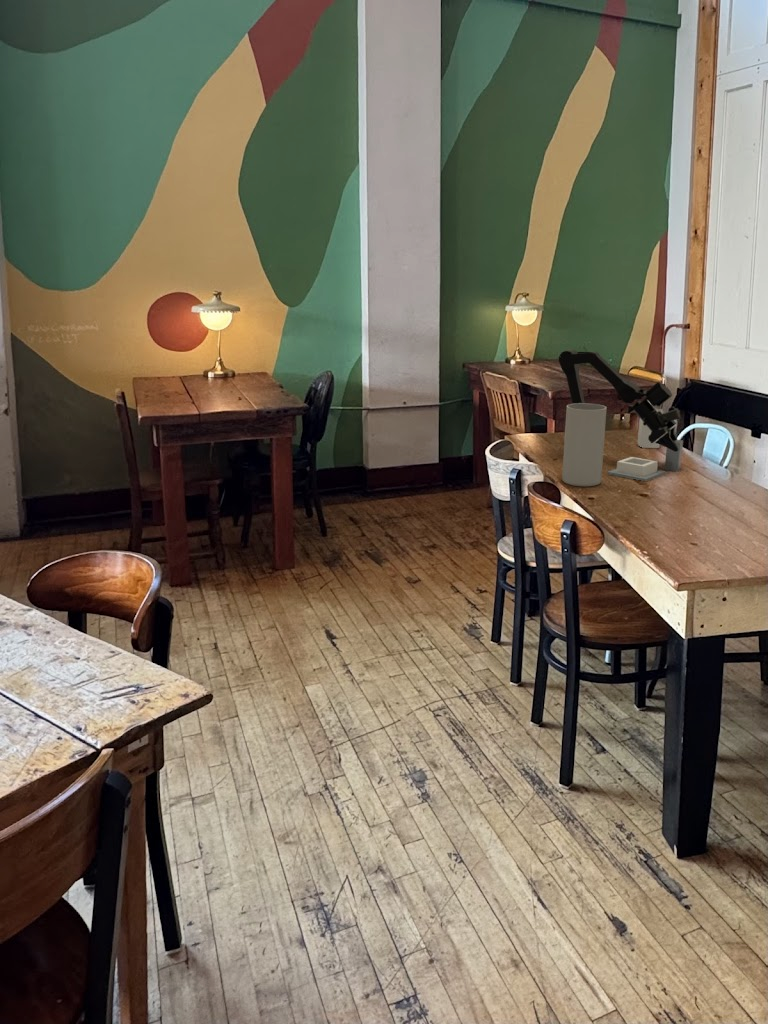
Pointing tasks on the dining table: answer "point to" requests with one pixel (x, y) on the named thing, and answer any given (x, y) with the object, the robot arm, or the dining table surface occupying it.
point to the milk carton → (646, 433)
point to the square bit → (674, 457)
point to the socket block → (637, 469)
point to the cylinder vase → (584, 444)
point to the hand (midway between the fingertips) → (678, 449)
